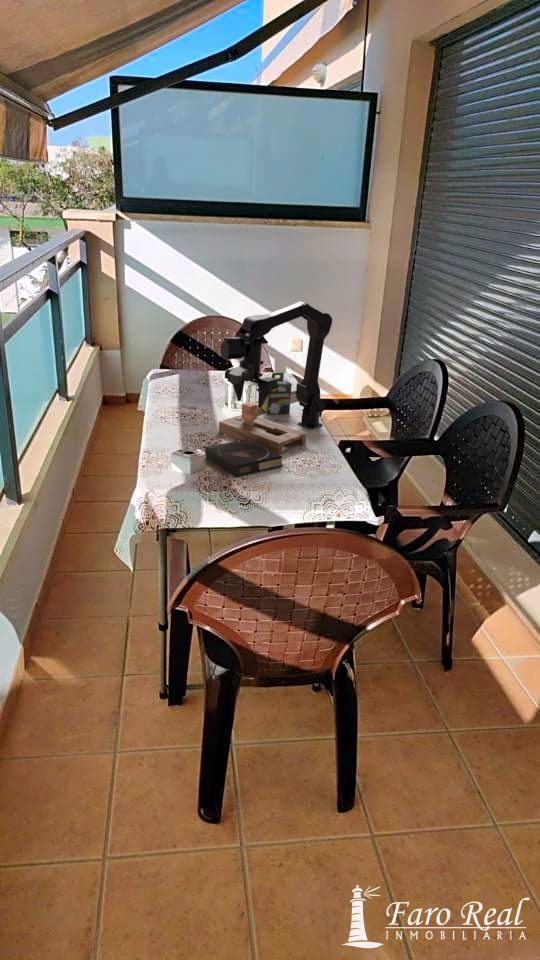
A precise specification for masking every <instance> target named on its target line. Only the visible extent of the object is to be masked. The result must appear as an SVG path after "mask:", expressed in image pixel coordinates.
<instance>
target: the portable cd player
mask: <svg viewBox="0 0 540 960" xmlns="http://www.w3.org/2000/svg"><path fill="white" fill-rule="evenodd" d="M204 451H205V453H204V455H205V454H206V457H207V460H208V461H210V463H213V464H214V465H216V466H217V467H219V468H220V469H222V470H223V471H225V472H226V473H228V474H229V475H231V476H232V477H234V478H238V477H242V476H247V475H251V474H256V473H261V472H266V471H270V470H276V469H279V468H282V467H283V459H282V458H283V457H282V454H280V455H279V454H277V453H275V452H274V451H272V450H270V449H268V448H267V447H265V446H263V445H261V444H259V443H258V442H256V441H254V440H252V439H251V438H250V439H245V440H240V441H239V440H235V441H234V440H233V441H230V442H223V443H219V444H213V445H209V446H205V450H204Z"/></svg>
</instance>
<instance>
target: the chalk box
mask: <svg viewBox="0 0 540 960" xmlns="http://www.w3.org/2000/svg"><path fill="white" fill-rule="evenodd" d="M284 375H285V372H283V371H282V372H272V373H271V377H270V378H274V379H276V380H277V381H278V388H275V389H274V390H271V392H270V393H269V395H268V396H267V398H266V400H265V402H264V403H263V405H262V407H261V408H260V409H262V410H263V411H264V412H265V413H266V415H278V414H279V415H280V414H281V415H282V414H290V410H291V409H290V408H291V399H292V398H291V397H292V387H293V386H292V385H293V384H292V383H291V382H290V381H289V380H288V379H286V378H285V376H284ZM276 376H279V377H276Z"/></svg>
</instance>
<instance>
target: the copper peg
mask: <svg viewBox="0 0 540 960" xmlns="http://www.w3.org/2000/svg"><path fill="white" fill-rule="evenodd" d="M241 415H242V417H241V418H242V419H244V423H245V424H248V425H251V426H254V420H255V419H257V417H258V404H257V403H254V402H251V401H249V402H248V401H247V402H246V403H245V402H244V403H242V405H241Z"/></svg>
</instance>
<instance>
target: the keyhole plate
mask: <svg viewBox="0 0 540 960" xmlns="http://www.w3.org/2000/svg"><path fill="white" fill-rule="evenodd" d="M241 417H242V414H240V415H236V416H233V417H230V418H227V419H226V418H225V419H222V420H220V421H218V433H219V432H220V433H222V434H221V435H223V434H225V435H224V436H226V435H227V436H226V437H229V436H230V437H229V438H231V437H232V439H235V440H236V441H239V440H245V439H250V438H251V439H252V440H254V441H256V442H258V443H259V444H261V445H263V446H265V447H267V448H268V449H270V450H272V451H274V452H275V453H277V454H279V455H282V454H283V449H284V445H285V446H286V445H287V444H291V443H292V444H294V445H297V444H298V445H297V446H301V447H303V446H306V444H307V432H305V431H302V430H298V429H296V428H292V427H290V426H286V425H285V424H284V425H283V424H280V423H278V422H275V421H271V420H268V419H266V418H263V417H259V416H257V419H255V420H254V426H251V425H248V424H245V423H244V419H242V418H241ZM220 433H219V434H220Z"/></svg>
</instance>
